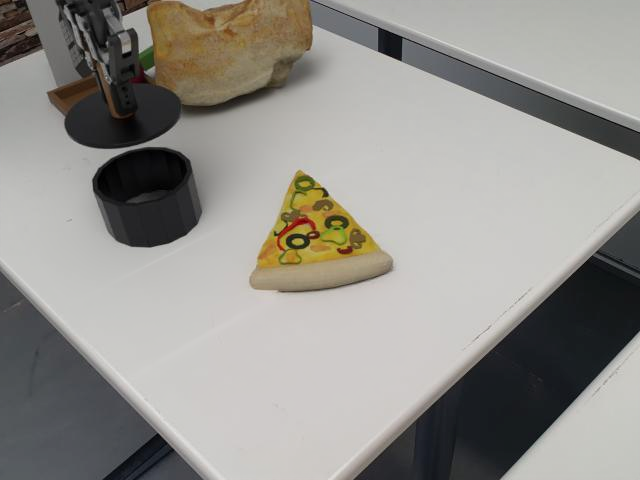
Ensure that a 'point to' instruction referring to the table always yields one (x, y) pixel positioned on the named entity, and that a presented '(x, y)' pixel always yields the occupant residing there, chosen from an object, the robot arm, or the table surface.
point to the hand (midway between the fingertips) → (121, 106)
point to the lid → (120, 132)
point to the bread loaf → (227, 47)
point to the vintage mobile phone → (58, 43)
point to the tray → (78, 92)
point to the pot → (154, 215)
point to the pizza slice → (315, 244)
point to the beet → (144, 64)
